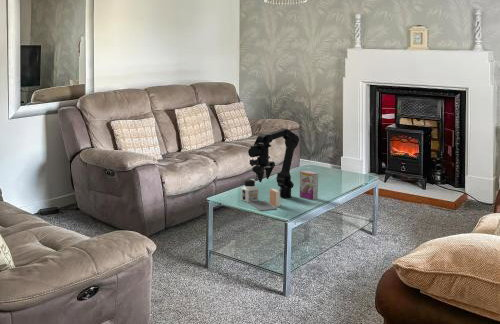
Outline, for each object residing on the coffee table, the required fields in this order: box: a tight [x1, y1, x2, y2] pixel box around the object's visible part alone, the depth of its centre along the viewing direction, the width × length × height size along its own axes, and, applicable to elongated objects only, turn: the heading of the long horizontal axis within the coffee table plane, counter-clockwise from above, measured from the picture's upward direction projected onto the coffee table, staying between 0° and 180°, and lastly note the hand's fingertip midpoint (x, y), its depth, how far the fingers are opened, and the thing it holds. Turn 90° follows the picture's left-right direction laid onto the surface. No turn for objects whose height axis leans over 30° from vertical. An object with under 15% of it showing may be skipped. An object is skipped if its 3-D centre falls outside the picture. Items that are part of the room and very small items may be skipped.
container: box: [240, 178, 259, 203], centre depth 360 cm, size 8×8×13 cm
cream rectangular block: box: [269, 188, 281, 208], centre depth 350 cm, size 3×8×9 cm, turn 21°
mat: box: [248, 200, 278, 212], centre depth 348 cm, size 10×18×1 cm, turn 21°
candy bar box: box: [299, 170, 319, 201], centre depth 365 cm, size 11×5×16 cm, turn 43°
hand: (263, 180), depth 354 cm, fingers open, 9 cm apart
